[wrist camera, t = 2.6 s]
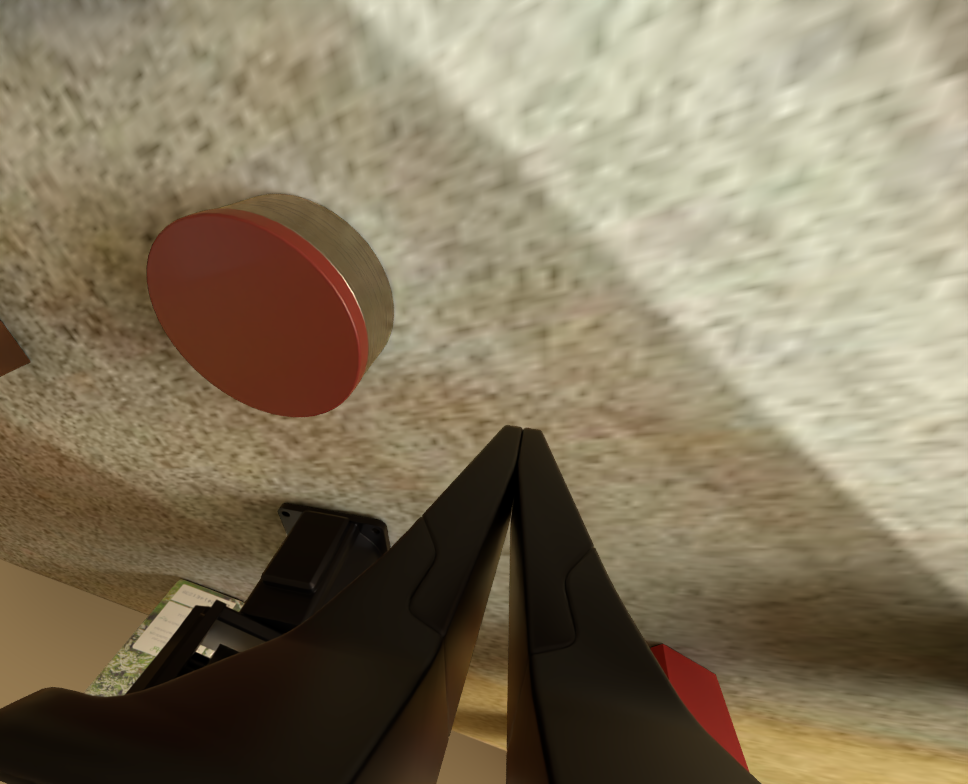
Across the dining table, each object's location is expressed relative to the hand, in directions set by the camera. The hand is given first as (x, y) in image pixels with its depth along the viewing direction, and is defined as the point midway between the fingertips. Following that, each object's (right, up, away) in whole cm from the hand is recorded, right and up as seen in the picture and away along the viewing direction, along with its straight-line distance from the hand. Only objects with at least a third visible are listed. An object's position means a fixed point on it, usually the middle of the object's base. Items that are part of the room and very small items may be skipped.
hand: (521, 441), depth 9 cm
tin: (-8, +5, +6) cm, 11 cm away
